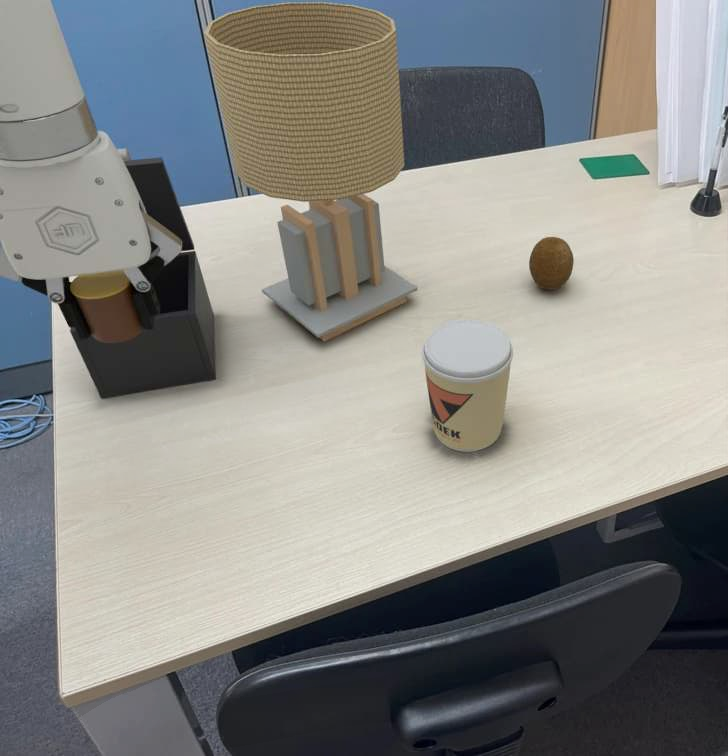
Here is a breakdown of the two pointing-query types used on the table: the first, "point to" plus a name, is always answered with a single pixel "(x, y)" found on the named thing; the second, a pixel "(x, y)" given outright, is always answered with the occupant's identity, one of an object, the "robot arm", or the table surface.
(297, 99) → the desk lamp
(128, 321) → the cylinder
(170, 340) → the dark grey hollow box
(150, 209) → the lid
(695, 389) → the table surface
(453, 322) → the coffee cup
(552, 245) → the fruit
